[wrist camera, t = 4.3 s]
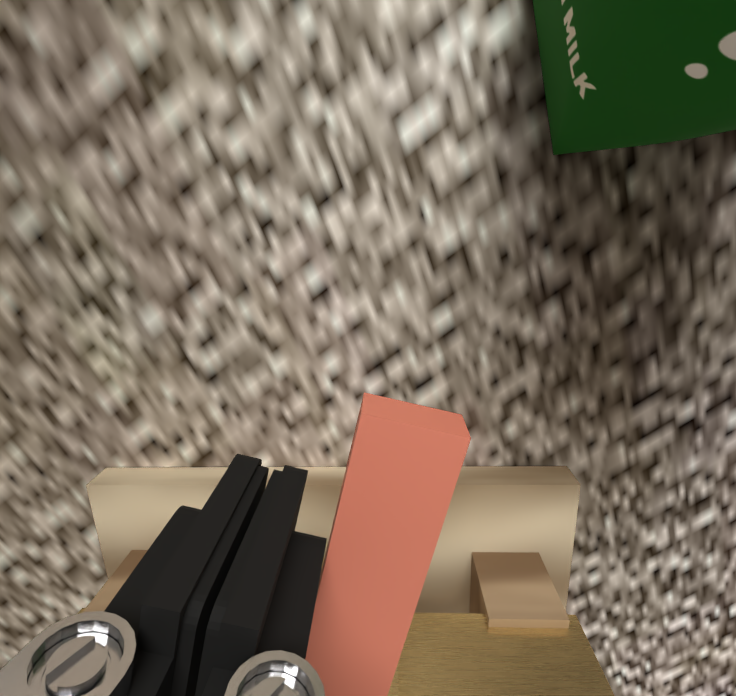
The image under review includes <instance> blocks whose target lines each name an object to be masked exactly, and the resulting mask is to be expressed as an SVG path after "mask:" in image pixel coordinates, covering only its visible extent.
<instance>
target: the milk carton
mask: <svg viewBox="0 0 736 696" xmlns="http://www.w3.org/2000/svg"><path fill="white" fill-rule="evenodd" d="M533 8H534V15H535V22H536V30H537V37H538V45H539V52H540V60H541V67H542V74H543V82H544V89H545V97H546V104H547V111H548V119H549V126H550V134H551V141H552V149H553V155H558V154H566V153H576V152H586V151H596V150H605V149H615V148H624V147H634V146H643V145H650V144H658V143H666V142H672V141H679V140H686V139H691V138H696V137H702V136H707V135H711V134H716V133H721V132H726V131H731V130H736V0H533Z"/></svg>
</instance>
